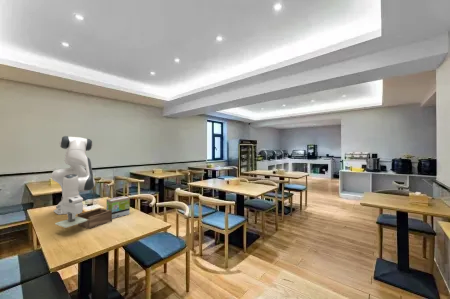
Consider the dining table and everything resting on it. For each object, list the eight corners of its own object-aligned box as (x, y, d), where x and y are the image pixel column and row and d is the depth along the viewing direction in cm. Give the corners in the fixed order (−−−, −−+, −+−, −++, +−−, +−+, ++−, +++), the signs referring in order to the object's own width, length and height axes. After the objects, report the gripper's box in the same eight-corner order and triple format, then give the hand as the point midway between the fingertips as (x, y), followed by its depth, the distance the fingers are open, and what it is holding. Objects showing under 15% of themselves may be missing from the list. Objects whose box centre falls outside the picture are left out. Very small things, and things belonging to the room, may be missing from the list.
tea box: (111, 219, 160) (111, 201, 160) (106, 216, 166) (105, 198, 166) (130, 214, 172) (129, 197, 172) (124, 211, 178) (124, 195, 178)
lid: (55, 224, 135) (55, 215, 134) (77, 217, 147) (77, 209, 146) (65, 227, 129) (65, 218, 129) (87, 220, 141) (87, 212, 141)
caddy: (77, 225, 148) (77, 214, 148) (100, 217, 163) (99, 208, 163) (89, 229, 141) (89, 217, 141) (111, 221, 156) (111, 210, 156)
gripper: (57, 197, 139) (58, 217, 139) (74, 201, 130) (74, 222, 130) (68, 195, 145) (68, 214, 145) (84, 198, 136) (84, 219, 136)
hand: (71, 218), depth 138 cm, fingers closed on lid, 3 cm apart
